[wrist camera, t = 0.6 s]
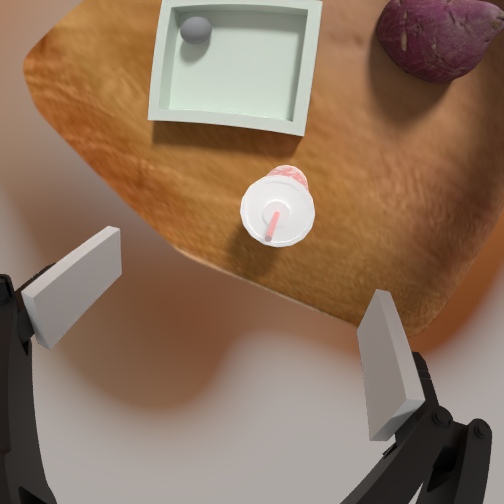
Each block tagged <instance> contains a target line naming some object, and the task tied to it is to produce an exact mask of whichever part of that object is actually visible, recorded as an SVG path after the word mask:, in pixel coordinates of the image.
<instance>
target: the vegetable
mask: <svg viewBox="0 0 504 504" xmlns="http://www.w3.org/2000/svg"><path fill="white" fill-rule="evenodd" d="M503 29H504V11H502V10H501V9H500V8H499V7H497V6H495V5H493V4H491V3H489V2H484V1H478V0H391V1H390V2H389V3H388V4H387V5H386V6H385V8H384V10H383V12H382V15H381V17H380V20H379V23H378V27H377V36H378V39H379V42H380V43H381V45H382V46H383V48H384V49H385V51H386V52H387V53H388V55H389V56H390V57H391V59H392V60H393V61H394V62H395V63H396V64H397V65H399V66H400V67H401V68H403V69H404V71H405V73H410V74H412V75H414V76H416V77H418V78H420V79H423V80H425V81H428V82H430V83H447V82H450V81H452V80H454V79H456V78H459V77H462V76H464V75H466V74H467V73H468V72H470V71H471V70H472V69H473V68H475V66H476V65H477V64H478V63H479V62H480V61H481V59H482V57H483V55H484V53H485V51H486V50H487V48H488V46H489V45H490V43H491V42H492V40H493V39H494V38H495V37H496V36H497V35H498V34H499V33H500V32H501V31H502V30H503Z"/></svg>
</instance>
